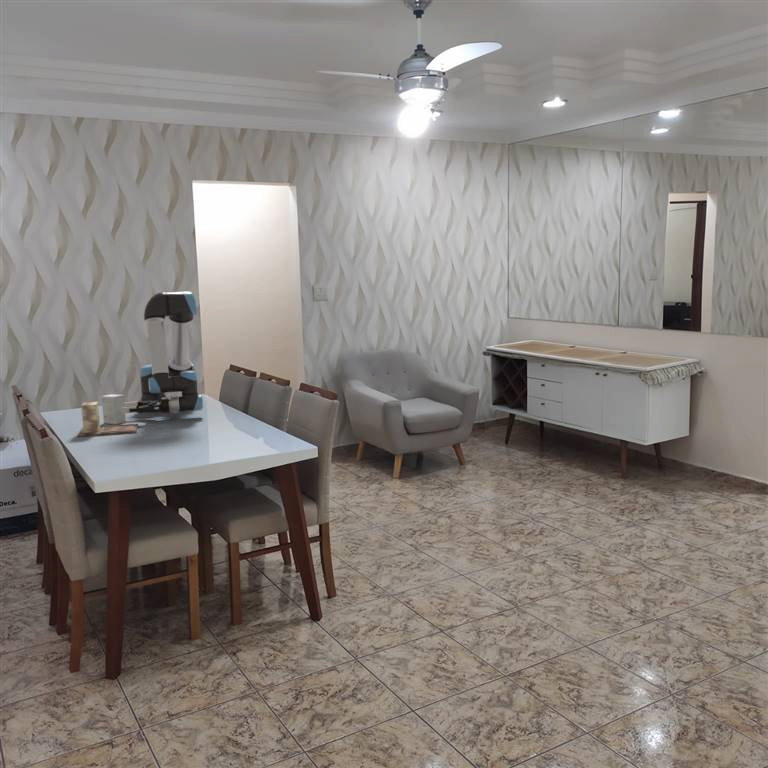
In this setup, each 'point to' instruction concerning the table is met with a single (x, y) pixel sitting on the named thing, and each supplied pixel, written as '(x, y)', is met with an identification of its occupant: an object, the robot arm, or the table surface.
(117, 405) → the small box
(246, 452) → the table surface
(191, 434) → the table surface
